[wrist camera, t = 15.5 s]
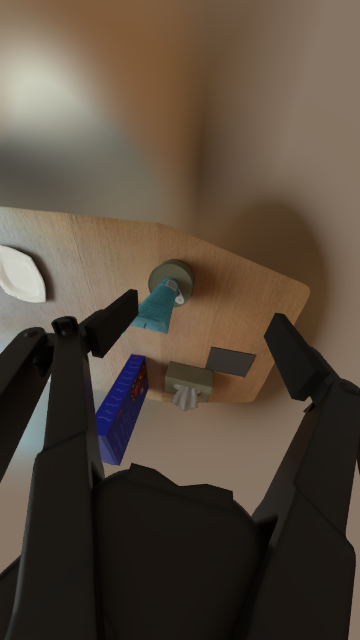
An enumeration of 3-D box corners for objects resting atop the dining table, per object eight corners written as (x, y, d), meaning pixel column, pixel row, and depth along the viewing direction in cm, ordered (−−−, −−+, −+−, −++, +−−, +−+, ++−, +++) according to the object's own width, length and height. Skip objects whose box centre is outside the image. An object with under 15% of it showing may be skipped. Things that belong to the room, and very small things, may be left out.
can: (178, 249, 43) (174, 253, 37) (202, 285, 47) (201, 293, 41) (147, 274, 48) (139, 281, 42) (171, 304, 52) (166, 314, 46)
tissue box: (166, 375, 71) (157, 410, 57) (169, 360, 66) (159, 395, 52) (207, 385, 70) (207, 423, 56) (213, 370, 64) (214, 409, 51)
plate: (55, 305, 60) (51, 307, 58) (9, 294, 61) (3, 296, 59) (39, 251, 49) (33, 252, 48) (-17, 239, 50) (-24, 240, 49)
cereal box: (131, 354, 67) (84, 432, 42) (144, 356, 66) (105, 436, 41) (137, 386, 79) (102, 462, 53) (148, 388, 78) (119, 466, 53)
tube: (156, 293, 43) (124, 335, 27) (156, 276, 40) (120, 310, 24) (183, 297, 42) (166, 342, 26) (184, 279, 40) (167, 318, 23)
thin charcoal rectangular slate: (255, 354, 57) (255, 355, 57) (244, 376, 63) (244, 377, 63) (211, 346, 58) (211, 347, 58) (205, 368, 65) (205, 369, 64)
